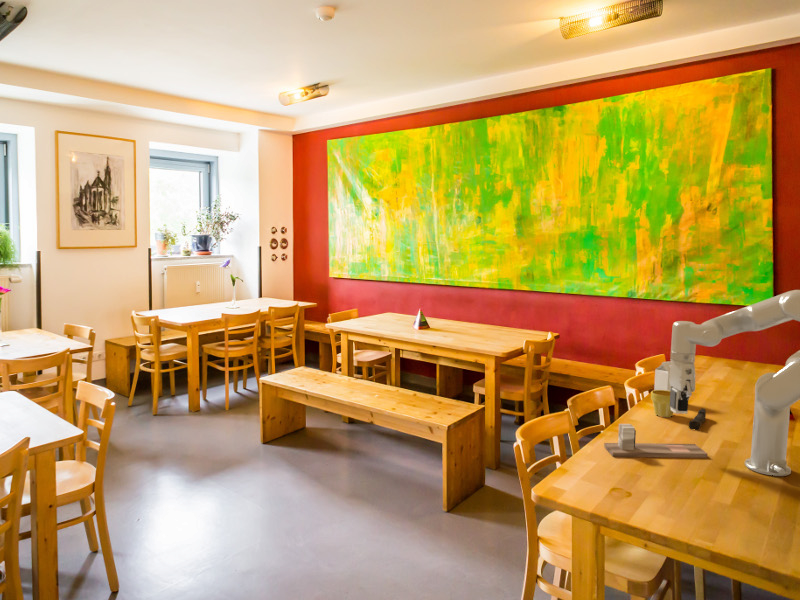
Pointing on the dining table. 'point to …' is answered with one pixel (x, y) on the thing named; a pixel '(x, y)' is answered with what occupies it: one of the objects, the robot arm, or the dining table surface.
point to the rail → (649, 447)
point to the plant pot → (661, 403)
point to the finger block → (675, 401)
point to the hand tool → (698, 420)
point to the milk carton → (662, 377)
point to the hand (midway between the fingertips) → (679, 408)
